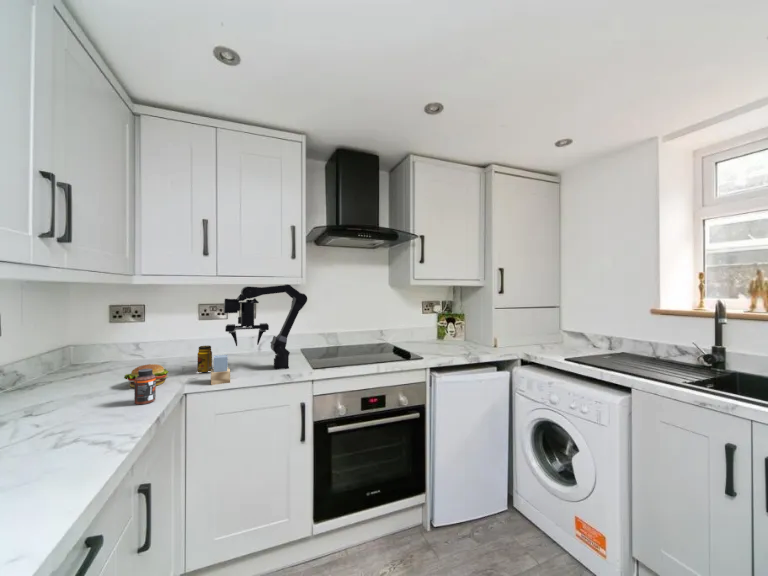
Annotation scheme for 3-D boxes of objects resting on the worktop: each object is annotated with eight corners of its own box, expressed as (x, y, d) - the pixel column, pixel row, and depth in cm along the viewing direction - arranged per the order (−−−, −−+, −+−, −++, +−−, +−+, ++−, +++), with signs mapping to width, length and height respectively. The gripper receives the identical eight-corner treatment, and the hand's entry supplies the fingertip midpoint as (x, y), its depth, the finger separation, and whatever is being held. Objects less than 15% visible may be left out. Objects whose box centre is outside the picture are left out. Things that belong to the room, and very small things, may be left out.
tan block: (228, 378, 141) (228, 367, 141) (230, 383, 135) (230, 371, 135) (210, 381, 138) (210, 369, 138) (211, 385, 132) (211, 373, 132)
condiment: (193, 373, 148) (193, 347, 148) (203, 368, 157) (203, 344, 157) (208, 373, 148) (209, 347, 148) (218, 368, 157) (218, 344, 157)
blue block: (227, 368, 140) (227, 354, 140) (227, 371, 135) (227, 357, 135) (214, 369, 138) (214, 355, 137) (213, 372, 133) (213, 358, 133)
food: (155, 377, 141) (156, 359, 141) (174, 382, 135) (174, 363, 135) (118, 385, 129) (118, 366, 129) (136, 391, 122) (137, 370, 122)
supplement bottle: (157, 402, 112) (157, 370, 112) (135, 406, 108) (135, 373, 107) (153, 397, 116) (154, 366, 116) (133, 401, 112) (133, 369, 112)
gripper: (267, 311, 163) (267, 341, 163) (226, 311, 156) (226, 343, 156) (268, 312, 153) (268, 345, 153) (225, 313, 146) (225, 347, 146)
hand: (247, 345), depth 152 cm, fingers open, 9 cm apart
